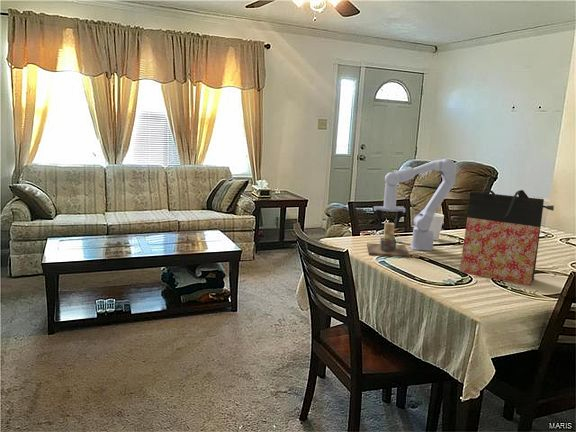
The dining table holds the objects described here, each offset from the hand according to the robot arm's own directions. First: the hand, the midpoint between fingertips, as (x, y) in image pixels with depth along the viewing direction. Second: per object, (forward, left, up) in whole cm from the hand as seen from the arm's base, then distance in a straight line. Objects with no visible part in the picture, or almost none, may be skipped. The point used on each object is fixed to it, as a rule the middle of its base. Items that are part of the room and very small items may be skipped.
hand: (388, 226), depth 221 cm
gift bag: (-41, +37, -10) cm, 56 cm away
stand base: (0, +8, -10) cm, 13 cm away
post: (0, +8, -5) cm, 10 cm away
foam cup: (-26, -23, -10) cm, 36 cm away
